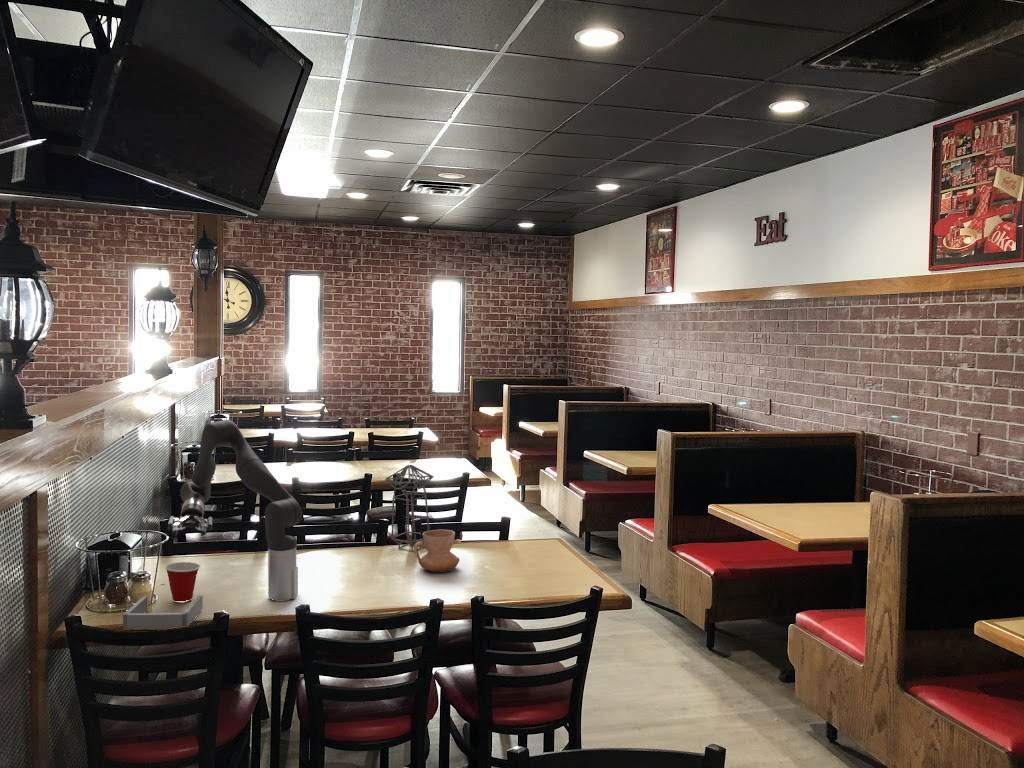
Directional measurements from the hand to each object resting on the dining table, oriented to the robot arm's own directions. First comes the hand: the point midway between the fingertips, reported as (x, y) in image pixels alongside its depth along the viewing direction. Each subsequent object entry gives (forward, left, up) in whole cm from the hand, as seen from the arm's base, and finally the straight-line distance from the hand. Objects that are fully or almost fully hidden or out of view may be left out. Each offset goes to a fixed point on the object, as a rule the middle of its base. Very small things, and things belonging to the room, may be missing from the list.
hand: (189, 533), depth 272 cm
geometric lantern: (-72, -52, -21) cm, 91 cm away
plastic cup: (0, +8, -21) cm, 22 cm away
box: (0, +26, -20) cm, 33 cm away
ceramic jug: (-84, -23, -21) cm, 90 cm away
